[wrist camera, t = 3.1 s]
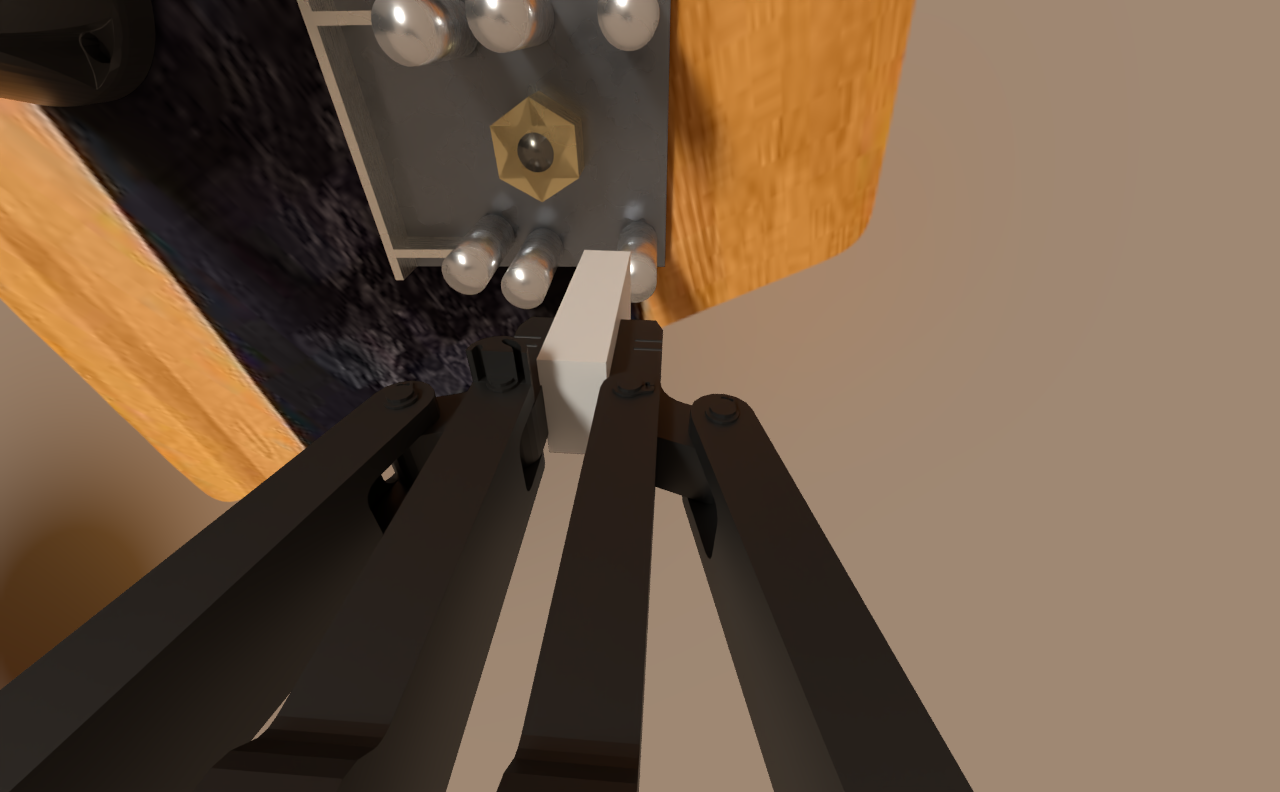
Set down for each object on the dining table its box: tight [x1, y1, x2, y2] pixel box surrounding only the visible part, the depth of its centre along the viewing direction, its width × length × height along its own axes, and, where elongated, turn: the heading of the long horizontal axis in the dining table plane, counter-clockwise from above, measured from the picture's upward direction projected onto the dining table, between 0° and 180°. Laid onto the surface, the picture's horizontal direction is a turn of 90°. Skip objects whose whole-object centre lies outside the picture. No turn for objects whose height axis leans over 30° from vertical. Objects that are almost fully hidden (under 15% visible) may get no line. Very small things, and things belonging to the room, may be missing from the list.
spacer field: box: [297, 0, 671, 309], centre depth 29 cm, size 20×17×8 cm
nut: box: [490, 91, 585, 202], centre depth 30 cm, size 5×6×3 cm
